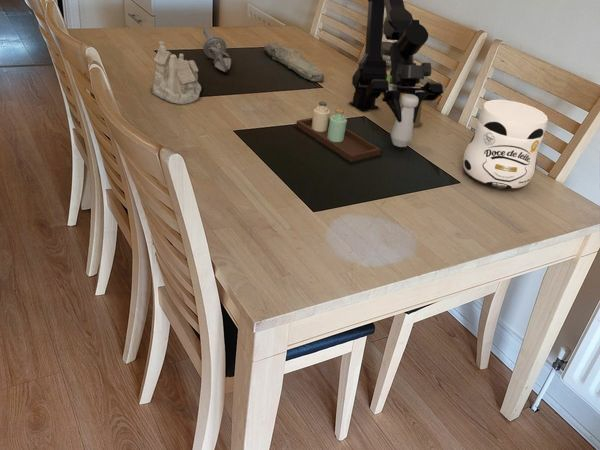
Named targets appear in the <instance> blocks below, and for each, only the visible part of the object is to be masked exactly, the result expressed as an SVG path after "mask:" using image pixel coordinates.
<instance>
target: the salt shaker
mask: <svg viewBox="0 0 600 450" xmlns="http://www.w3.org/2000/svg"><path fill="white" fill-rule="evenodd" d="M418 102H419V99H418V97H417V96H415V95H412V94H403V95H402V96H401V97H400V107H401V115H402V121H401V122H400V123H399V122H398V120H397V119H396V118H395V121H394V124H393V126H392V129H391V131H390V139H391V142H392V145H393V146H396V147H398V148H406V147H408V145H409V144H410V143H412V141H413V139H414V127H413V126H414V123H413V119H414V108H415V107H416V106H417V105H418Z"/></svg>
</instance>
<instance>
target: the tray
mask: <svg viewBox="0 0 600 450" xmlns="http://www.w3.org/2000/svg"><path fill="white" fill-rule="evenodd" d="M312 119H313V117H309V118H303V119H298V120H296V124H295V125H296V127H297V128H299V129H300V130H302V131H303V132H305V133H306V134H308V135H309V136H311V137H312V138H314V139H315V140H317V141H318V142H320V143H321V144H323V145H325V146H326V147H327V148H329V149H331V150H332V151H334V152H335V153H337V154H339V155H340V156H342V157H343V158H344V159H345V160H347V161H349V162H351V163H352V162H356V161H359V160H364V159H368V158H371V157H376V156H379V155H381V151H382V149H381V148H380V147H378V146H377V145H375V144H373V143H372V142H370V141H368V140H367V139H365V138H364V137H362V136H360V135H358V134H356V133H355V132H354V131H352V130H350V129H349V128H347V127H346V128H345V134H344V140H343V141H342V142H333V141H330V140H329V139H328V138H327V136H328V129H329V123H330V117H329V122H328V128H327V131H324V132H318V131H315V130H313V129H312V128H311V127H312Z"/></svg>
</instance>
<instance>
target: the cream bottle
mask: <svg viewBox="0 0 600 450" xmlns="http://www.w3.org/2000/svg"><path fill="white" fill-rule="evenodd" d="M327 105H328V102H326V101H319V102H318V106H316V107H315V108H313V112H312V118H313V119H312V127H311V128H312V129H313V130H315V131H318V132H324V131H327V128H328V122H329V118H330V113H331V111H330V110H329V108H328V107H327Z"/></svg>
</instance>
